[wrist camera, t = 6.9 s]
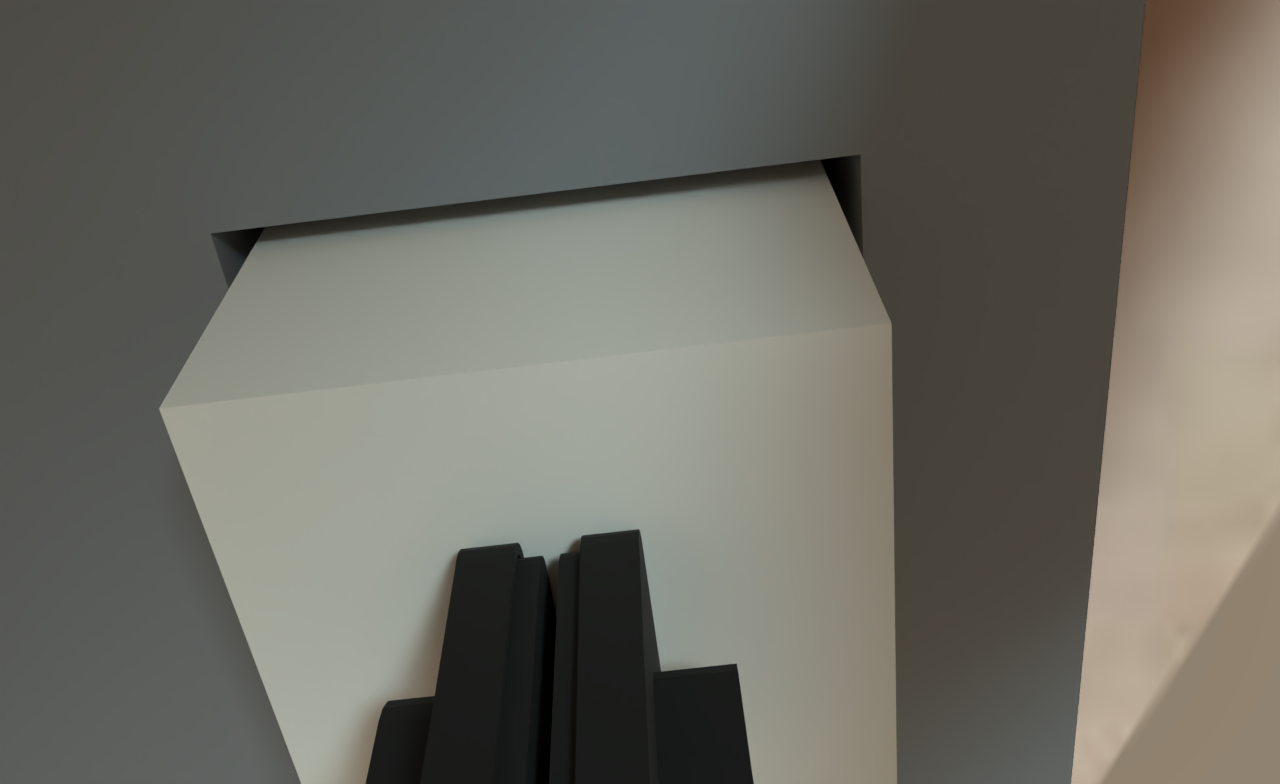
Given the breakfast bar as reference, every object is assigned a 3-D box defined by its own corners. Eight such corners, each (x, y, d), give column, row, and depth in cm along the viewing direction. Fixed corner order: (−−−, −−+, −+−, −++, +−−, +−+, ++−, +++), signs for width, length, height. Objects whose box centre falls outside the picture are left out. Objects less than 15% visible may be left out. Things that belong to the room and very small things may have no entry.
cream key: (290, 183, 14) (158, 409, 10) (803, 120, 14) (890, 323, 10) (401, 578, 17) (336, 880, 13) (823, 531, 17) (897, 822, 13)
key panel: (-920, -60, 15) (-1510, 51, 11) (1004, -319, 14) (1174, -308, 10) (-332, 730, 23) (-550, 983, 18) (975, 589, 22) (1067, 819, 17)
